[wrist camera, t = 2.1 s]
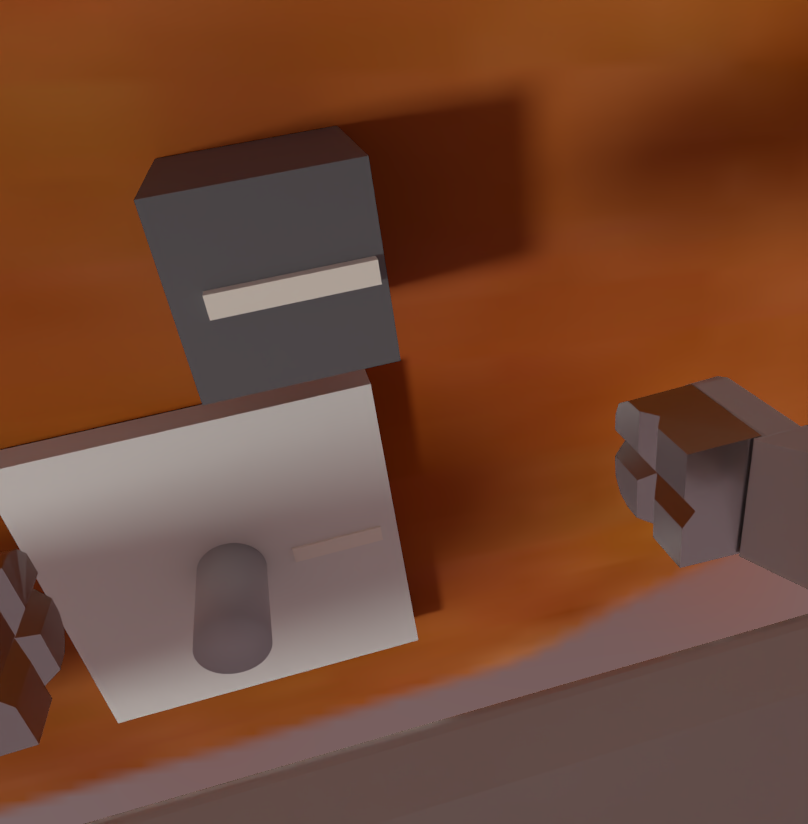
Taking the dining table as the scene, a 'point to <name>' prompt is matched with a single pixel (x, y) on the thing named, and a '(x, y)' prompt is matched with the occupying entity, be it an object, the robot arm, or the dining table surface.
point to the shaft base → (216, 542)
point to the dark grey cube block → (271, 261)
